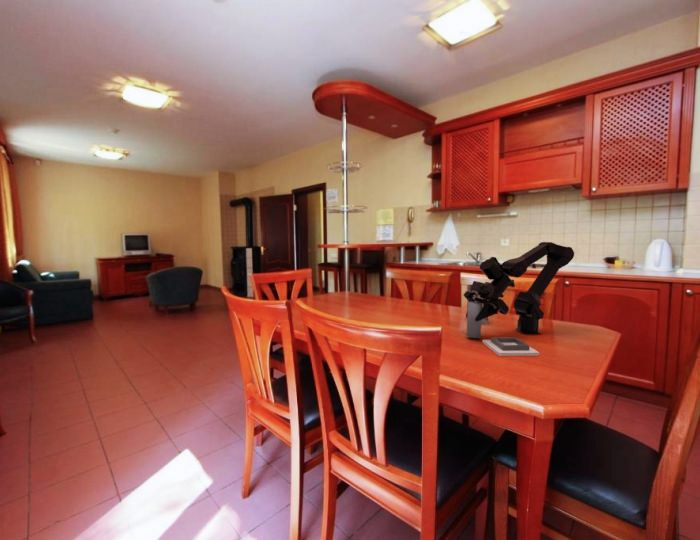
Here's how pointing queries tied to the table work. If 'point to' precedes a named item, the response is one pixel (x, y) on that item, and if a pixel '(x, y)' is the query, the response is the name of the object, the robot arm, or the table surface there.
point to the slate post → (473, 320)
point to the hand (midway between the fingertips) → (471, 318)
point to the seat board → (510, 347)
